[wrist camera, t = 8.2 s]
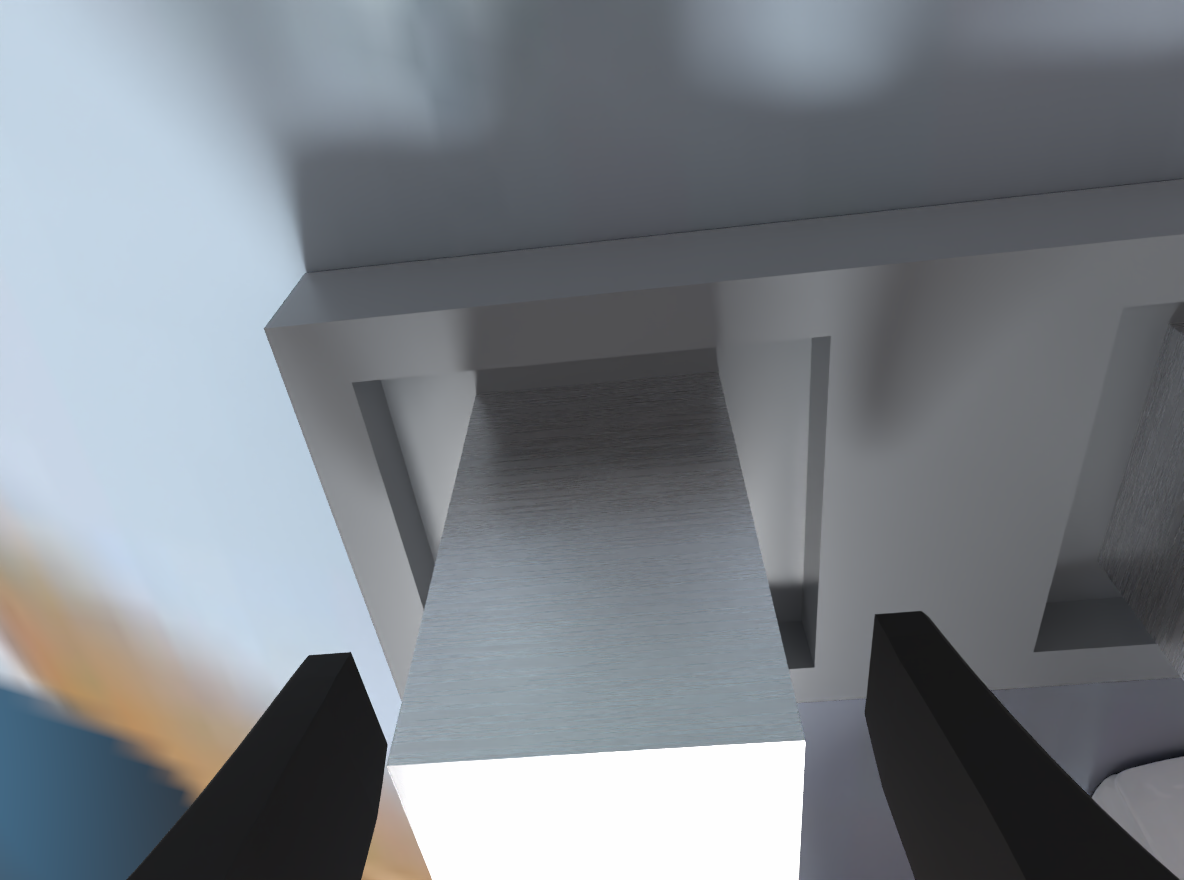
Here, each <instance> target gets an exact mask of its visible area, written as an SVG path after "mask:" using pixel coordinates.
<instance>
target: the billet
mask: <svg viewBox="0 0 1184 880" xmlns="http://www.w3.org/2000/svg"><path fill="white" fill-rule="evenodd" d="M804 759H805V737H804V732H803V728H802V724H801V720H800V715H799V711H798V707H797V703H796V698H795V694H794V690H793V686H792V682H791V677H790V673H789V669H788V665H787V660H786V656H785V652H784V648H783V643H782V639H781V635H780V631H779V626H778V622H777V618H776V614H775V609H774V605H773V601H772V597H771V592H770V588H769V584H768V580H767V575H766V571H765V567H764V563H763V558H762V554H761V550H760V546H759V541H758V537H757V533H756V529H755V525H754V520H753V516H752V512H751V508H750V503H749V499H748V495H747V491H746V486H745V482H744V478H743V474H742V469H741V465H740V461H739V457H738V452H737V448H736V444H735V440H734V435H733V431H732V427H731V423H730V418H729V414H728V410H727V406H726V401H725V397H724V393H723V389H722V384H721V380H720V376H719V372H707V373H696V374H685V375H674V376H663V377H652V378H641V379H631V380H620V381H609V382H598V383H587V384H576V385H565V386H554V387H544V388H533V389H522V390H511V391H500V392H489V393H478V394H476V396H475V401H474V405H473V409H472V413H471V417H470V421H469V425H468V430H467V434H466V438H465V442H464V446H463V450H462V454H461V459H460V463H459V467H458V471H457V475H456V479H455V484H454V488H453V492H452V496H451V500H450V504H449V508H448V513H447V517H446V521H445V525H444V529H443V533H442V537H441V542H440V546H439V550H438V554H437V558H436V562H435V567H434V571H433V575H432V579H431V583H430V587H429V591H428V596H427V600H426V604H425V608H424V612H423V616H422V621H421V625H420V629H419V633H418V637H417V641H416V645H415V650H414V654H413V658H412V662H411V666H410V670H409V674H408V679H407V683H406V687H405V691H404V695H403V699H402V704H401V708H400V712H399V716H398V720H397V724H396V728H395V733H394V737H393V741H392V745H391V749H390V753H389V757H388V762H387V769H388V771H389V774H390V776H391V779H392V781H393V783H394V786H395V788H396V791H397V793H398V796H399V798H400V801H401V803H402V806H403V808H404V811H405V813H406V816H407V818H408V820H409V823H410V825H411V828H412V830H413V833H414V835H415V838H416V840H417V843H418V845H419V848H420V850H421V852H422V855H423V857H424V860H425V862H426V865H427V867H428V870H429V872H430V875H431V877H432V880H799V860H800V840H801V820H802V799H803V779H804Z"/></svg>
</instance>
